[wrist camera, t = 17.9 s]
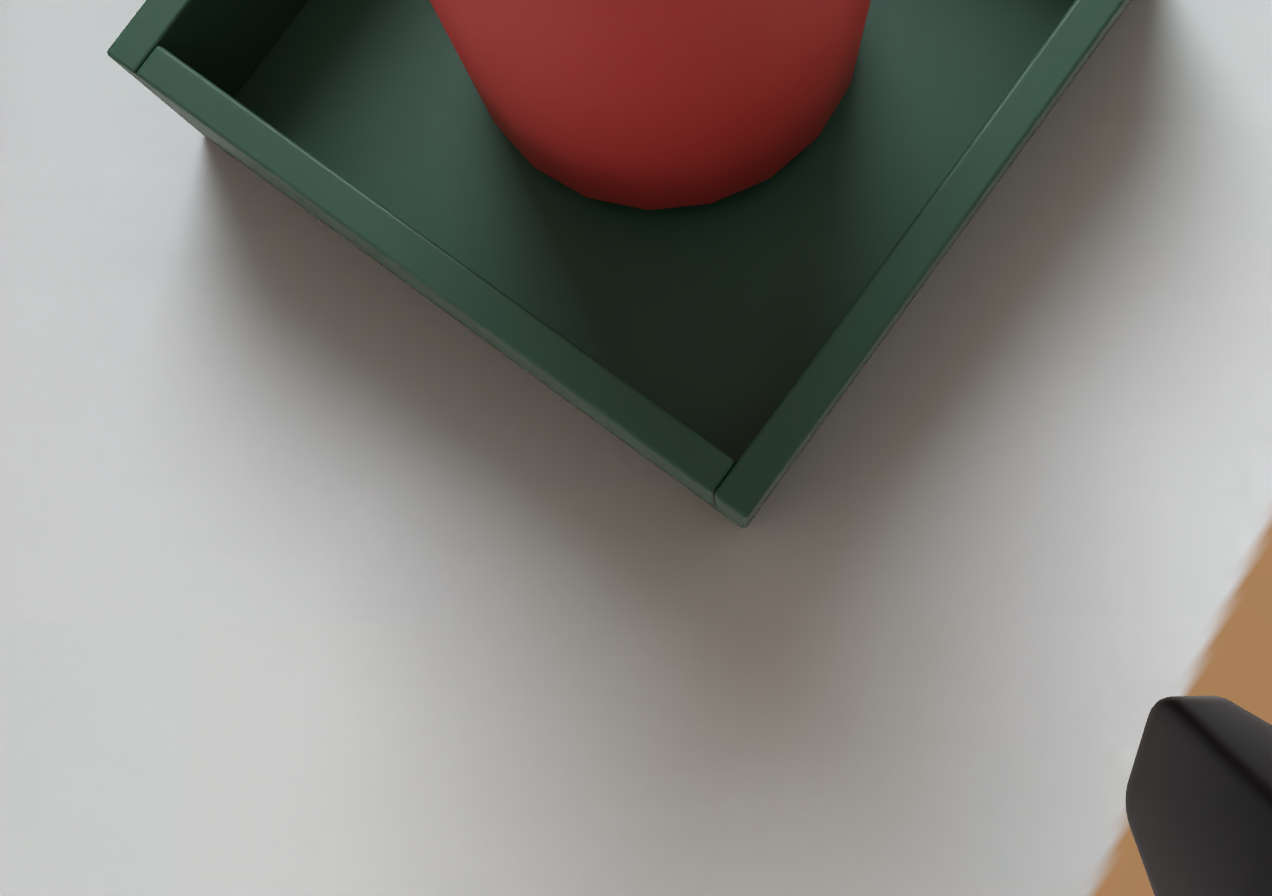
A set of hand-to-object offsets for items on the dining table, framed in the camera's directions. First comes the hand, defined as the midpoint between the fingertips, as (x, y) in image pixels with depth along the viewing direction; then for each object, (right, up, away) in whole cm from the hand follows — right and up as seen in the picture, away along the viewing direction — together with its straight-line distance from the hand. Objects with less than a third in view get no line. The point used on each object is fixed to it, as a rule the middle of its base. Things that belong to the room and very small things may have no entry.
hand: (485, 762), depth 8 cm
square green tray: (+2, +9, +13) cm, 16 cm away
